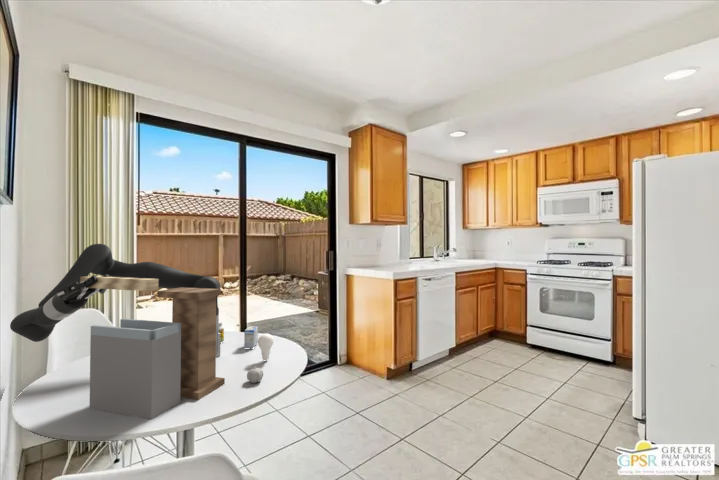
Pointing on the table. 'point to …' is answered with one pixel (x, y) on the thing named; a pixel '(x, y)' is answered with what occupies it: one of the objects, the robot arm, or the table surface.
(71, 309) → the robot arm
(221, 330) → the supplement bottle
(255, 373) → the garlic
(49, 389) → the table surface
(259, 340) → the lightbulb
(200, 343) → the post
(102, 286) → the tan wooden bar
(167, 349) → the tray stand
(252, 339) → the medicine box
